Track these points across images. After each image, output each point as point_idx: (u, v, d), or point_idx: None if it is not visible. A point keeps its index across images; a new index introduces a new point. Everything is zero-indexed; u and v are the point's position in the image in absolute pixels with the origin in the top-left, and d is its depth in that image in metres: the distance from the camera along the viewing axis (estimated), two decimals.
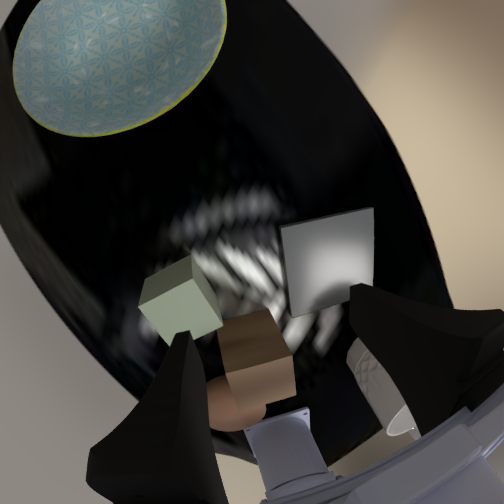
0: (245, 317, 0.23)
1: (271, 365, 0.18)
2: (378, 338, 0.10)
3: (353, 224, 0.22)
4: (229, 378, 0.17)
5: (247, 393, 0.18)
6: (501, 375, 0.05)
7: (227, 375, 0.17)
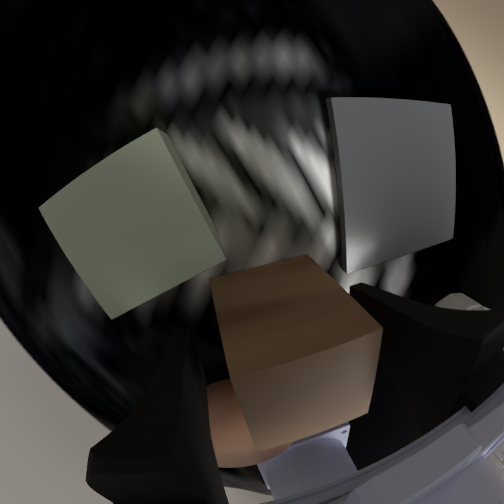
0: (266, 268, 0.12)
1: (338, 355, 0.07)
2: None
3: (431, 121, 0.11)
4: (239, 389, 0.07)
5: (277, 419, 0.08)
6: (501, 375, 0.05)
7: (235, 382, 0.07)
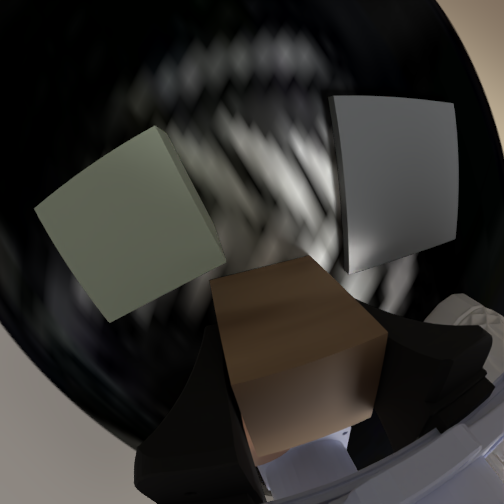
0: (268, 270, 0.12)
1: (342, 360, 0.07)
2: None
3: (434, 120, 0.11)
4: (241, 396, 0.07)
5: (279, 425, 0.08)
6: (478, 395, 0.05)
7: (236, 389, 0.07)
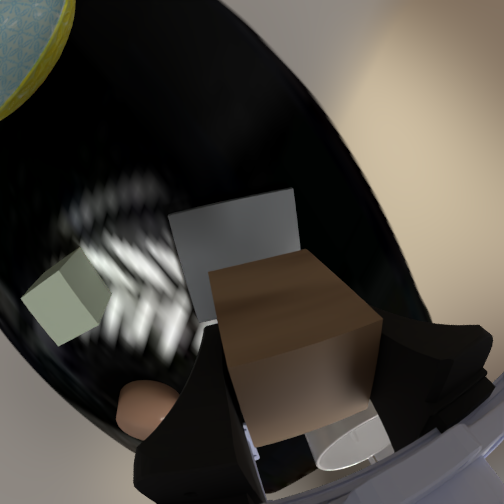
0: (265, 262, 0.12)
1: (338, 346, 0.07)
2: None
3: (266, 210, 0.18)
4: (237, 380, 0.07)
5: (275, 413, 0.08)
6: (479, 395, 0.05)
7: (232, 373, 0.07)
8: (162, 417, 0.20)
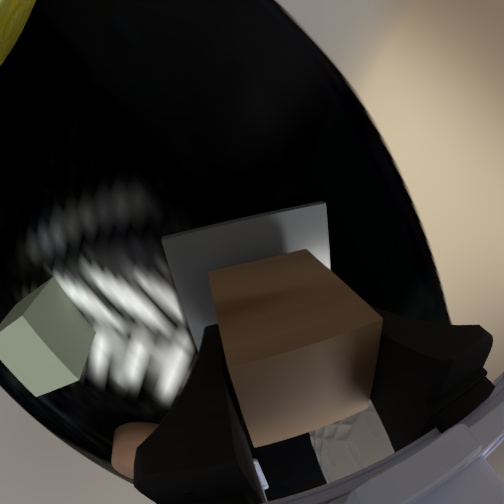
0: (265, 262, 0.12)
1: (338, 346, 0.07)
2: None
3: (291, 231, 0.14)
4: (237, 380, 0.07)
5: (276, 413, 0.08)
6: (479, 395, 0.05)
7: (232, 372, 0.07)
8: None
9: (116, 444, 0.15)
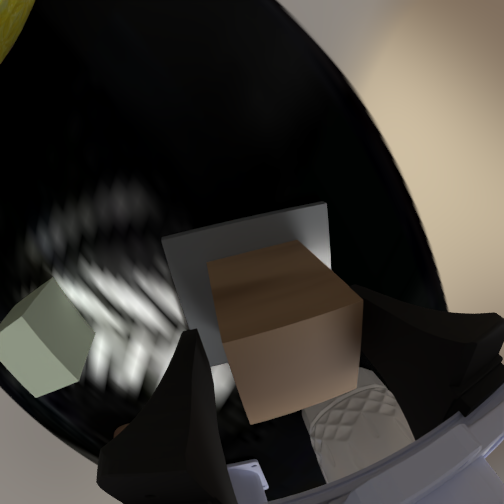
0: (259, 252, 0.13)
1: (322, 325, 0.08)
2: (372, 341, 0.10)
3: (291, 231, 0.14)
4: (231, 356, 0.08)
5: (268, 389, 0.09)
6: (496, 380, 0.05)
7: (226, 348, 0.08)
8: None
9: None
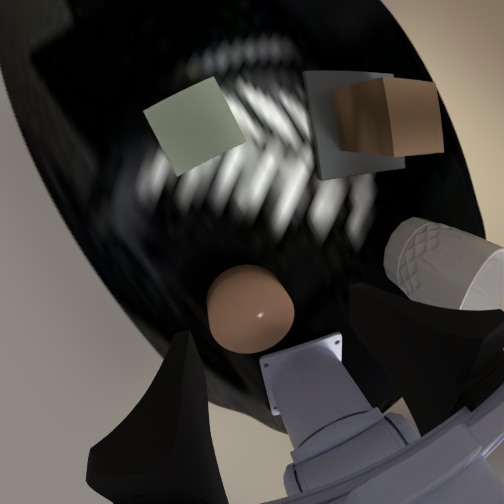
0: None
1: (421, 87, 0.12)
2: (378, 338, 0.10)
3: None
4: (386, 86, 0.12)
5: (403, 121, 0.13)
6: (501, 375, 0.05)
7: (384, 80, 0.12)
8: (272, 304, 0.19)
9: (219, 288, 0.19)
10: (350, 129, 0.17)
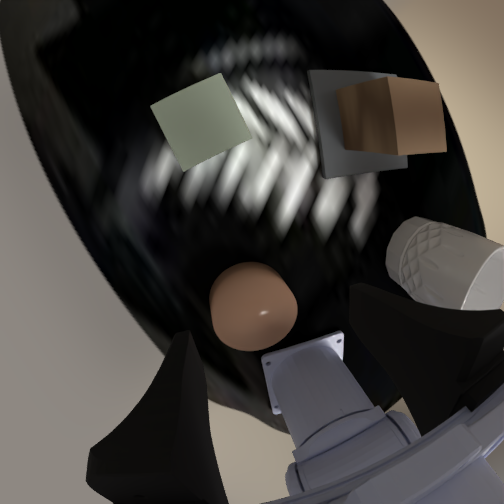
0: None
1: (425, 87, 0.12)
2: (378, 338, 0.10)
3: None
4: (391, 86, 0.12)
5: (407, 120, 0.13)
6: (501, 375, 0.05)
7: (389, 80, 0.12)
8: (275, 301, 0.19)
9: (223, 285, 0.19)
10: (354, 128, 0.17)
